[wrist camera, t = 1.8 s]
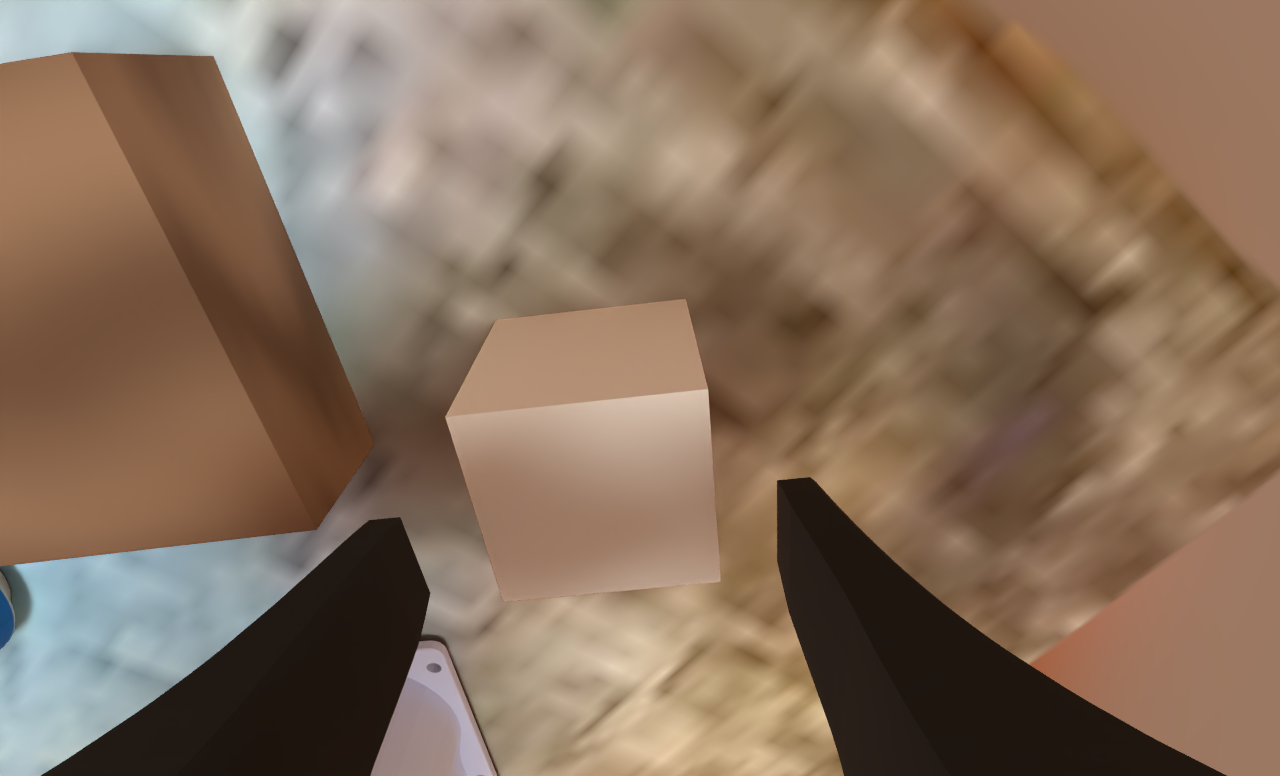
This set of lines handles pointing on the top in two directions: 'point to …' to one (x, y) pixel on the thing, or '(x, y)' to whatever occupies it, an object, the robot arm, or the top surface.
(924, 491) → the top surface
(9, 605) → the beverage can
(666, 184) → the top surface
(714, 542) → the cube
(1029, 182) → the top surface
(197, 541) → the walnut box
